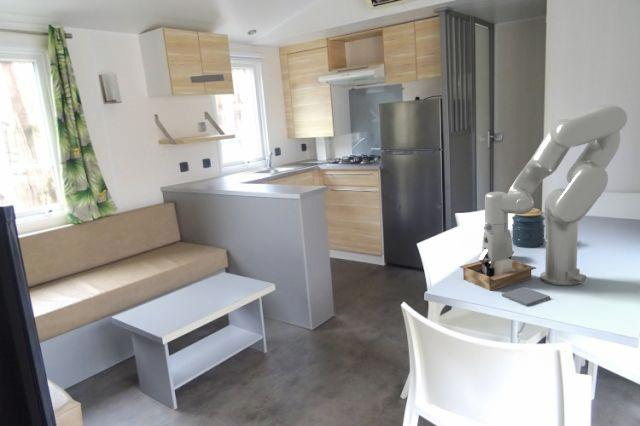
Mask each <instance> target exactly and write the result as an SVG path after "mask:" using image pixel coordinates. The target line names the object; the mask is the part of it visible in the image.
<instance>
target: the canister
mask: <svg viewBox="0 0 640 426" xmlns="http://www.w3.org/2000/svg"><path fill="white" fill-rule="evenodd" d="M543 213H544V212H543V211H542V210H540V209H539V208H535V207H533V209H532V210H531V211H530V212H528V213H526V214H514V215H513V216H512V217H511V219H512V221H513V223H512V224H511V227H512V236H511V239H512V245H514V246H517V247H520V248H539V247H542V246H544V245H545V243H546V238H545V228H546V224H545V223H544V221H545V220H546V216H545V215H544V216H543Z"/></svg>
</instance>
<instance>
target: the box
mask: <svg viewBox="0 0 640 426" xmlns="http://www.w3.org/2000/svg"><path fill="white" fill-rule="evenodd" d="M485 260H486V259H485ZM512 260H513V259H512V258H511V259H509V258H505V259H501V260H498V261H494V264H493V268H494V276H496V275H500V274H503V273H507V272H510V271H512ZM489 264H490V261H489ZM482 274H483V275H486V267H485V266H484V264H483V263H482Z"/></svg>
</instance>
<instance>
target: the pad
mask: <svg viewBox="0 0 640 426" xmlns="http://www.w3.org/2000/svg"><path fill="white" fill-rule="evenodd" d="M501 296H502V297H503V298H506V299H508V300H511V301H513V302H515V303H517V304H520V305H523V306H525V307H528V306H531V305H535V304H538V303H540V302H544V301H547V300H551V296H550V295H547V294H544V293H542V292H539V291H537V290H534V289H531V288H530V287H529V288H528V287H526V286H523V287H518V288H516V289H513V290H509V291H506V292H503V293H501Z"/></svg>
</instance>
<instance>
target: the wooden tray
mask: <svg viewBox="0 0 640 426" xmlns="http://www.w3.org/2000/svg"><path fill="white" fill-rule="evenodd" d="M459 268H461V269H463V271H462V272H463V280H464V281H466V282H469V283H471V284H474V285H475V286H479V287H481V288H483V289H485V290H488V291H493V290H496V289H500V288H504V287H507V286H510V285H513V284H517V283H520V282H523V281H527V280H530V279H532V271H533V270H535V269H537V267H535V266H532V265H528V264H525V263H523V262H520V261H516V260H514V259H512V271H510V272H507V273H503V274H500V275H496V276H492V277H488V276H486V275H483V274H482V262H480V261H476V262H475V261H474V262H472V263H467V264H464V265H460V266H459Z"/></svg>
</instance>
